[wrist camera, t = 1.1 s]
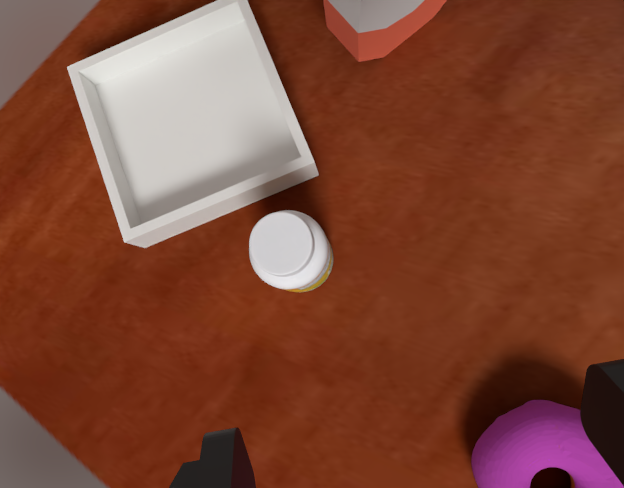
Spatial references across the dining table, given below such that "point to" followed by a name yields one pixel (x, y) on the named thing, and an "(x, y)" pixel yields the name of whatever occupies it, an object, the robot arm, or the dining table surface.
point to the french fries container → (377, 23)
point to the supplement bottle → (290, 251)
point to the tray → (190, 122)
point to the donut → (538, 449)
